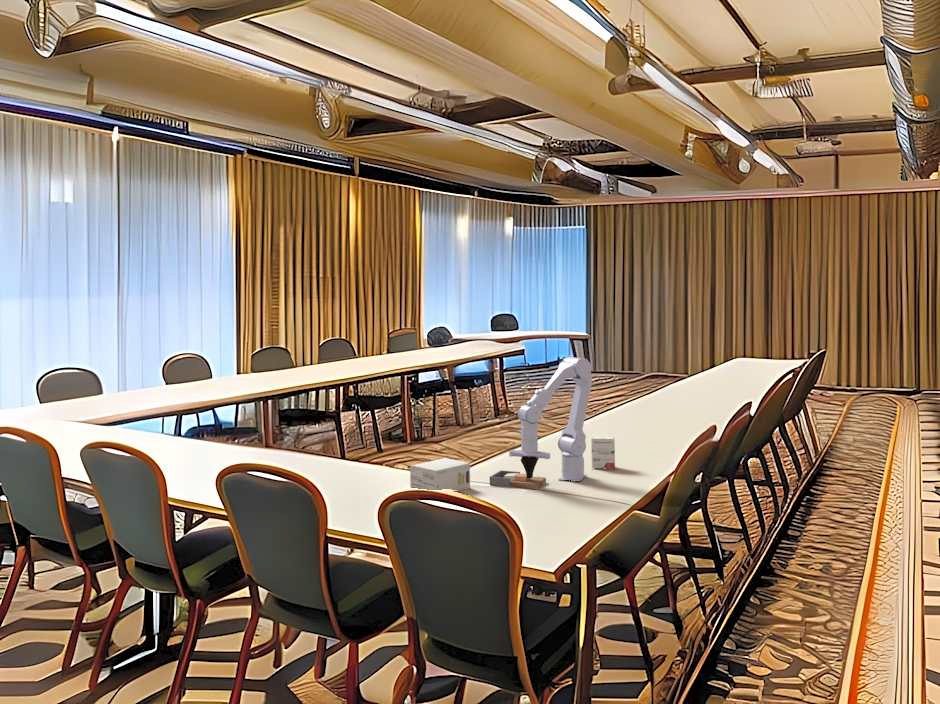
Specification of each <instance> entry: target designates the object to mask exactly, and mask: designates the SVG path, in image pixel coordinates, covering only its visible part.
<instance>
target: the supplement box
mask: <svg viewBox="0 0 940 704" xmlns="http://www.w3.org/2000/svg"><path fill="white" fill-rule="evenodd" d="M409 478H410V479H409V481H410V482H409V483H410V484H409V485H410V487H411V488H418V489H427V490H442V489H452V490H457V492H460V491H461V492H462V491H465V490H468V488H469V489H470V488H471V463H470V462H467V461H462V460H457V459H453V458H447V457H443V458H439V459H435V460H430V461H426V462H421V463H416V464H410V466H409ZM410 487H409V488H410Z"/></svg>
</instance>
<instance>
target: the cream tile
mask: <svg viewBox="0 0 940 704" xmlns="http://www.w3.org/2000/svg"><path fill="white" fill-rule="evenodd" d="M517 474H518V473H510V474H506V475H505V476H504V478H510V480H515V476H516V475H517Z"/></svg>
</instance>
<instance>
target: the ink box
mask: <svg viewBox="0 0 940 704" xmlns="http://www.w3.org/2000/svg"><path fill="white" fill-rule="evenodd" d="M590 441H591V469H592V468H606V469H605V470H611V469H614V470H615V468H616V454H615V453H616V450H615V449H616V448H615V437H614V436H593V437H591V440H590Z"/></svg>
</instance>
